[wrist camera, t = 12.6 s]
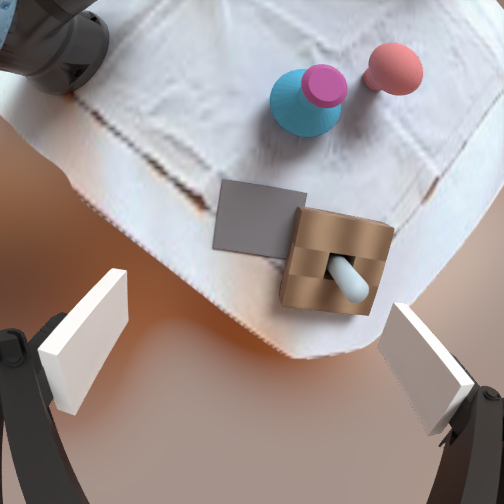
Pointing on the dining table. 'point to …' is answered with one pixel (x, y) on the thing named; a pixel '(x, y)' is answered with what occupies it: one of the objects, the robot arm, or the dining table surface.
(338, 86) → the perfume bottle
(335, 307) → the hole block
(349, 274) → the peg
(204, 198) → the dining table surface
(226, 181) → the mat
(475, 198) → the dining table surface
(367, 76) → the light bulb
